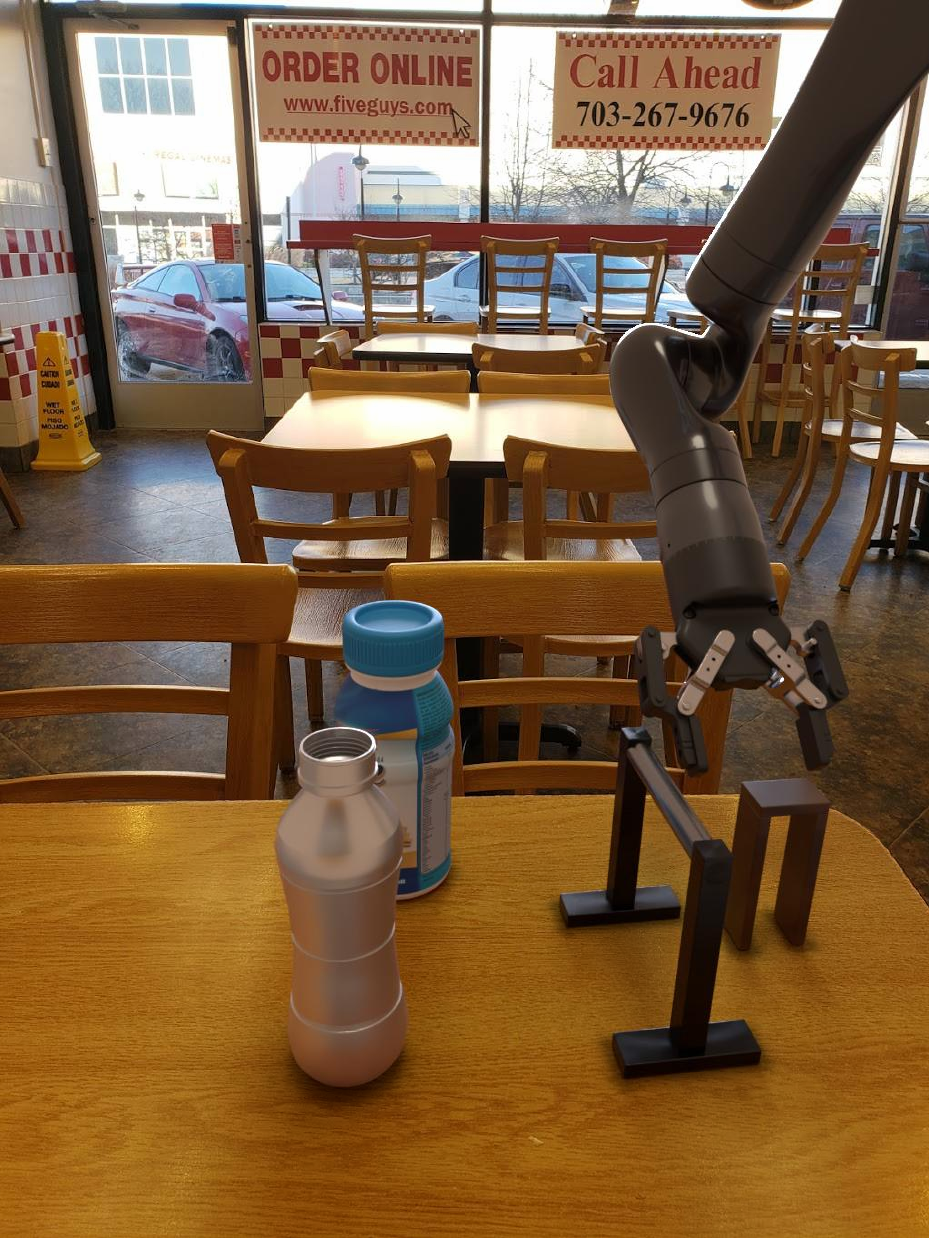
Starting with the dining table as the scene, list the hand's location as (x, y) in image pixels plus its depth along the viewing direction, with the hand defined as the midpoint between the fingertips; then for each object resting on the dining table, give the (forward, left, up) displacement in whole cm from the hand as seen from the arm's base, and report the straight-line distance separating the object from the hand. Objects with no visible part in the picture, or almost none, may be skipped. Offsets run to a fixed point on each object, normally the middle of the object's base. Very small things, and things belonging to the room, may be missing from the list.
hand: (760, 771), depth 63 cm
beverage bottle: (+24, -6, -11) cm, 27 cm away
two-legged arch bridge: (0, +4, -10) cm, 11 cm away
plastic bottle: (+28, +11, -11) cm, 32 cm away
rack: (+9, +7, -10) cm, 15 cm away
